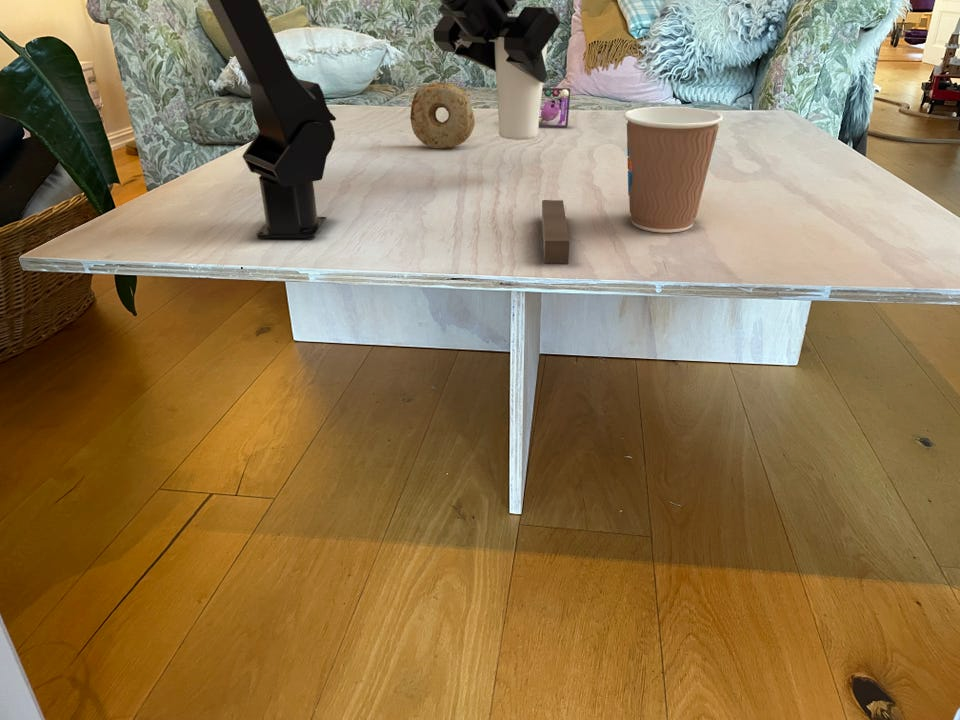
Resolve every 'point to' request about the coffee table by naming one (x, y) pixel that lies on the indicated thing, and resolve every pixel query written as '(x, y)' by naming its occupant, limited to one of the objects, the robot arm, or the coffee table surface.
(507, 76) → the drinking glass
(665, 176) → the coffee cup
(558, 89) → the purple printed box
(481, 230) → the coffee table surface
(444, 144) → the bagel
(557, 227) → the baton
